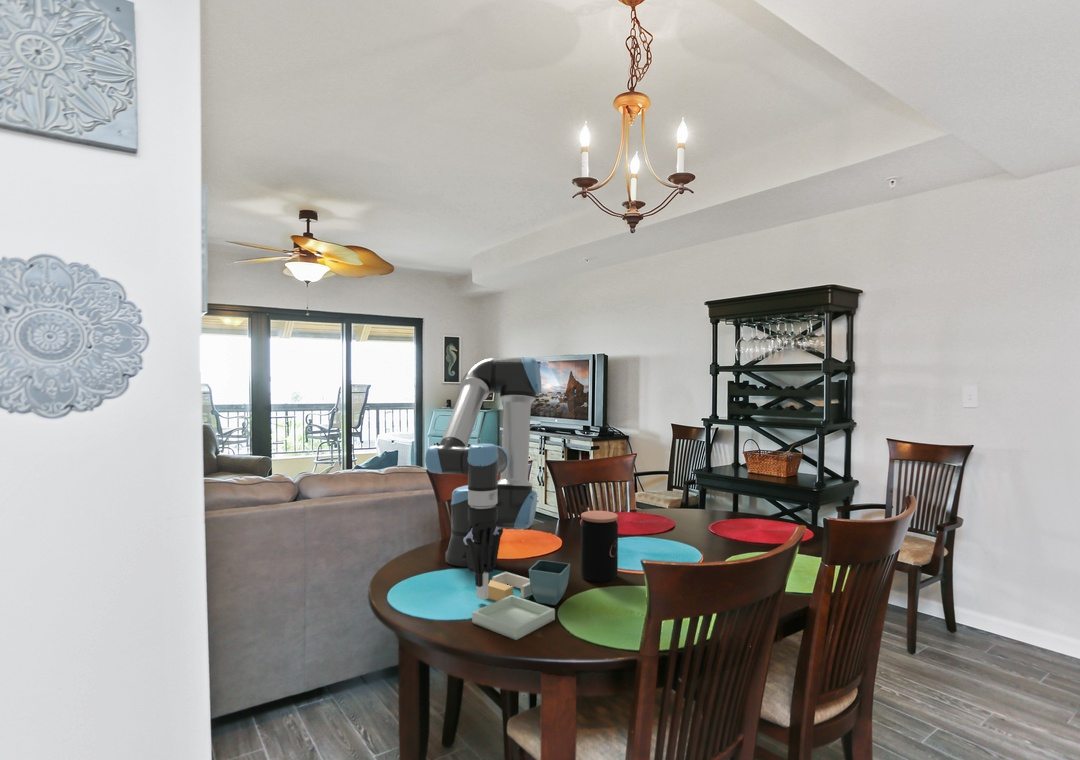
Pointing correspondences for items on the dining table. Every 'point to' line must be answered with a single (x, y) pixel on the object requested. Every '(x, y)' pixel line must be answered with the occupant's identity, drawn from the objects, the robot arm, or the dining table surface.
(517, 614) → the shallow square tray
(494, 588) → the tan rectangular block
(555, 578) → the flower pot
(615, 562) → the coffee jar
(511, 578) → the clip
